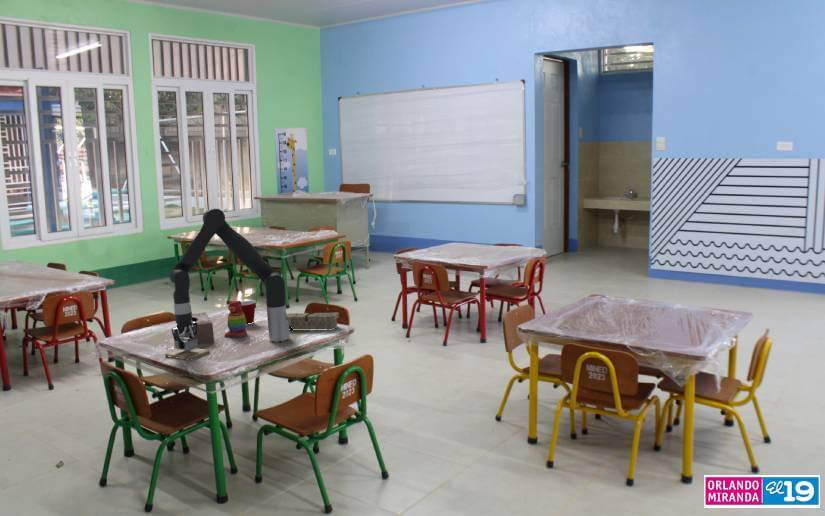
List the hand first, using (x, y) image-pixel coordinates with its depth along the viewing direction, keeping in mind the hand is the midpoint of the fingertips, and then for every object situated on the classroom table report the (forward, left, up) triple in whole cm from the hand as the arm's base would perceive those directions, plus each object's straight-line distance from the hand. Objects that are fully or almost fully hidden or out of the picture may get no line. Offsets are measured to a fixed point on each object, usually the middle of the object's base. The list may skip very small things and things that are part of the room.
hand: (186, 346), depth 338 cm
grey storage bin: (0, 0, -1) cm, 1 cm away
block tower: (-27, -59, -4) cm, 65 cm away
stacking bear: (+2, -36, -4) cm, 36 cm away
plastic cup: (+13, -56, -4) cm, 58 cm away
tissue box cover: (+19, -24, -4) cm, 31 cm away
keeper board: (0, 0, -4) cm, 4 cm away
